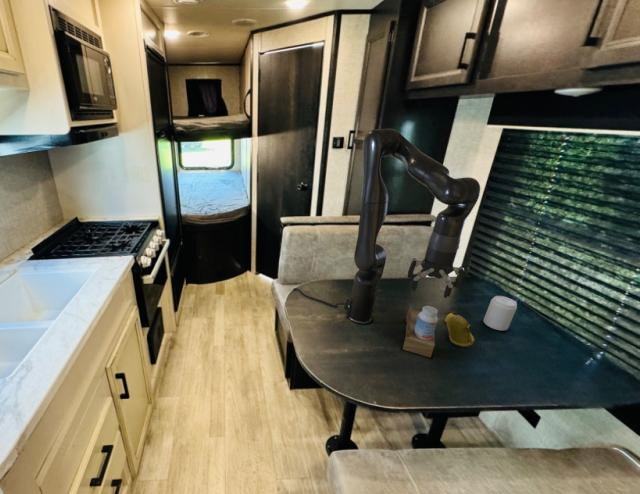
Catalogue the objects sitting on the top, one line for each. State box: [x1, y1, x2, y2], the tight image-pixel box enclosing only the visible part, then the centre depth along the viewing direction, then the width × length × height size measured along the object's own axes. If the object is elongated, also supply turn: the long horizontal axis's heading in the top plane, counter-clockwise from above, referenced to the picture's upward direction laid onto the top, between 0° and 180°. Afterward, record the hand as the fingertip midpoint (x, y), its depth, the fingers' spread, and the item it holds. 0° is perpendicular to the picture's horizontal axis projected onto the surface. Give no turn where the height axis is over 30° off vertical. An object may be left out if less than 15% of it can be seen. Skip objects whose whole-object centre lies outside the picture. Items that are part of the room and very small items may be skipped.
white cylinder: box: [483, 295, 518, 332], centre depth 125 cm, size 8×8×12 cm
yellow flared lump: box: [444, 311, 476, 348], centre depth 115 cm, size 12×8×15 cm
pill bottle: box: [414, 305, 439, 340], centre depth 112 cm, size 6×6×11 cm
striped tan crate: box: [402, 304, 436, 358], centre depth 120 cm, size 20×9×8 cm, turn 152°
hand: (429, 293), depth 99 cm, fingers open, 8 cm apart
